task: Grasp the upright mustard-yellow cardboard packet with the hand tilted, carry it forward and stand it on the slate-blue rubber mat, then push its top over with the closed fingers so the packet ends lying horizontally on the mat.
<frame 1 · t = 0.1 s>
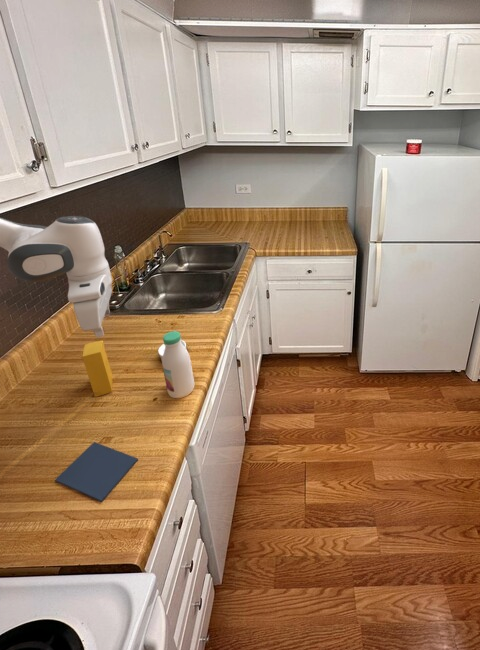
hand: (103, 325, 88), 26 cm above the counter, tool pointing down, fingers open, 8 cm apart
ramekin: (174, 358, 115), on the counter
mat: (98, 470, 78), on the counter
milk bottle: (181, 389, 102), on the counter
packet: (104, 387, 102), on the counter
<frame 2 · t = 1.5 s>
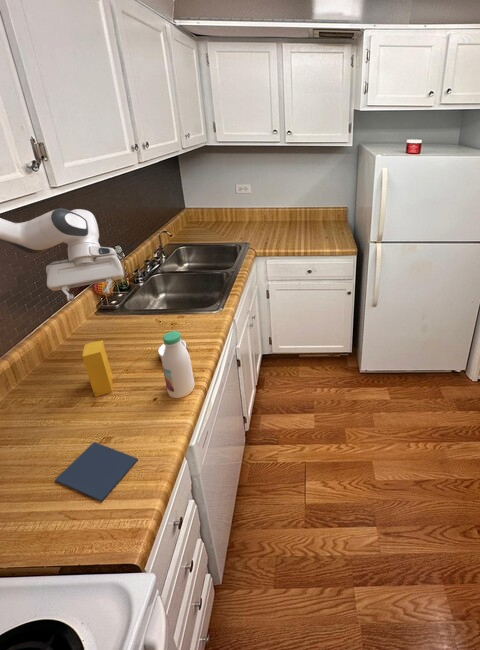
hand: (89, 297, 103), 26 cm above the counter, tool tilted 45°, fingers open, 8 cm apart
nothing on the counter moved.
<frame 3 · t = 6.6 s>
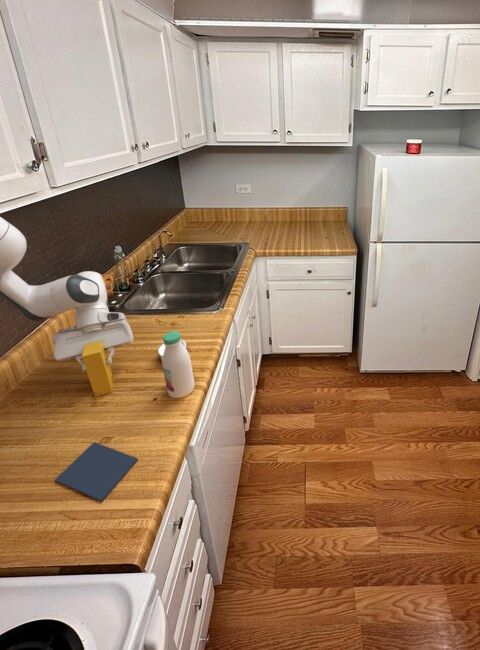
hand: (97, 367, 98), 8 cm above the counter, tool tilted 45°, fingers closed on packet, 4 cm apart
packet: (104, 387, 102), on the counter, touching gripper
everything else where it was.
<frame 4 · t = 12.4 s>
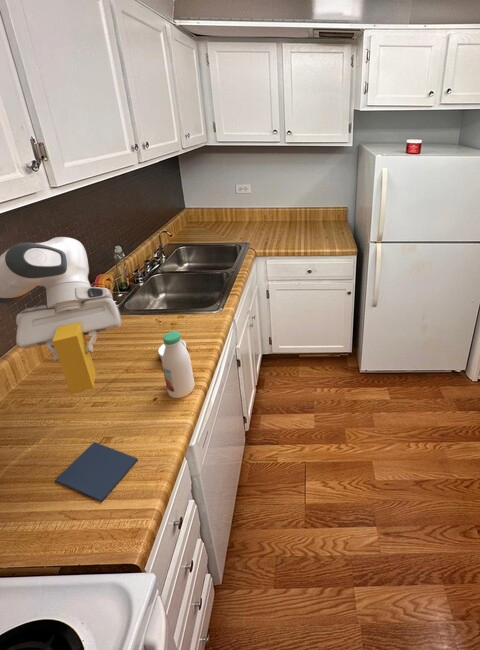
hand: (74, 356, 77), 26 cm above the counter, tool tilted 45°, fingers closed on packet, 4 cm apart
packet: (83, 382, 80), point 18 cm above the counter, touching gripper
everything else where it was.
when the fingers open (9 cm above the counter, at t = 18.1 s): packet stays where it is, resting on mat.
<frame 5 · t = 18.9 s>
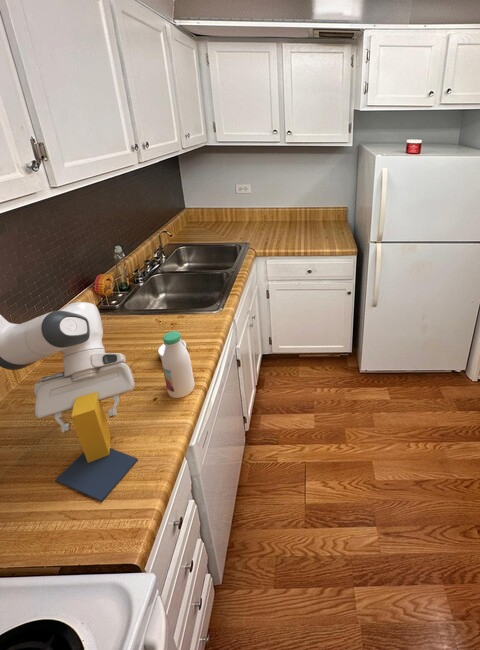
hand: (90, 424, 79), 10 cm above the counter, tool tilted 45°, fingers open, 8 cm apart
packet: (99, 448, 83), point 1 cm above the counter, touching mat
everything else where it was.
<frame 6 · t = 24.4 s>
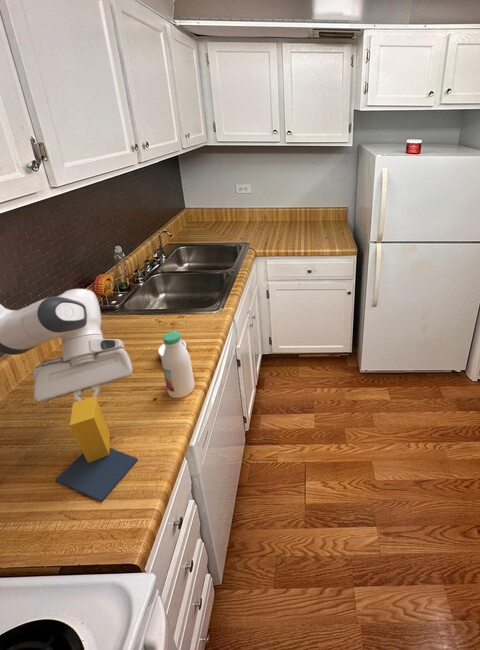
hand: (88, 408, 80), 12 cm above the counter, tool tilted 45°, fingers closed
packet: (99, 447, 83), point 1 cm above the counter, tilted 9°, touching mat
everything else where it was.
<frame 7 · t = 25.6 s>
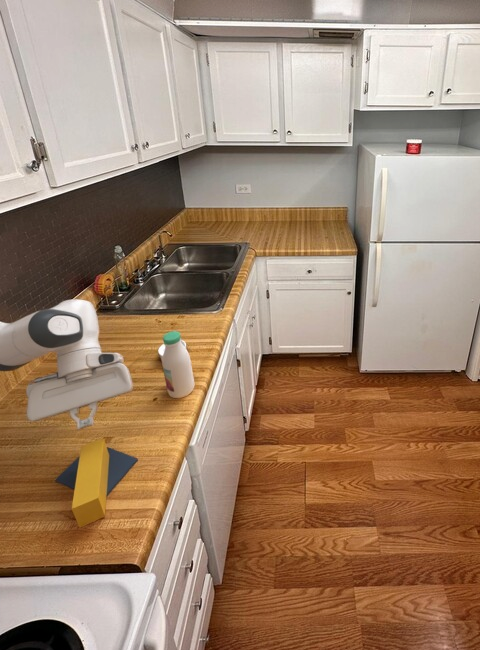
hand: (85, 427, 75), 12 cm above the counter, tool tilted 45°, fingers closed
packet: (95, 450, 79), point 4 cm above the counter, tilted 90°, touching mat
everything else where it was.
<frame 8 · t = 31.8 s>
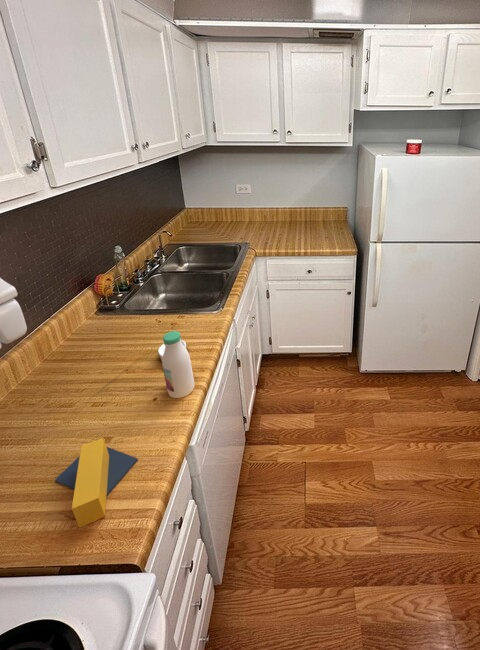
nothing on the counter moved.
at the end: packet tilted 90°; packet inside the target area on the mat (2.6 cm from its centre), point 3.6 cm above the mat's base; the gripper is holding nothing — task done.
